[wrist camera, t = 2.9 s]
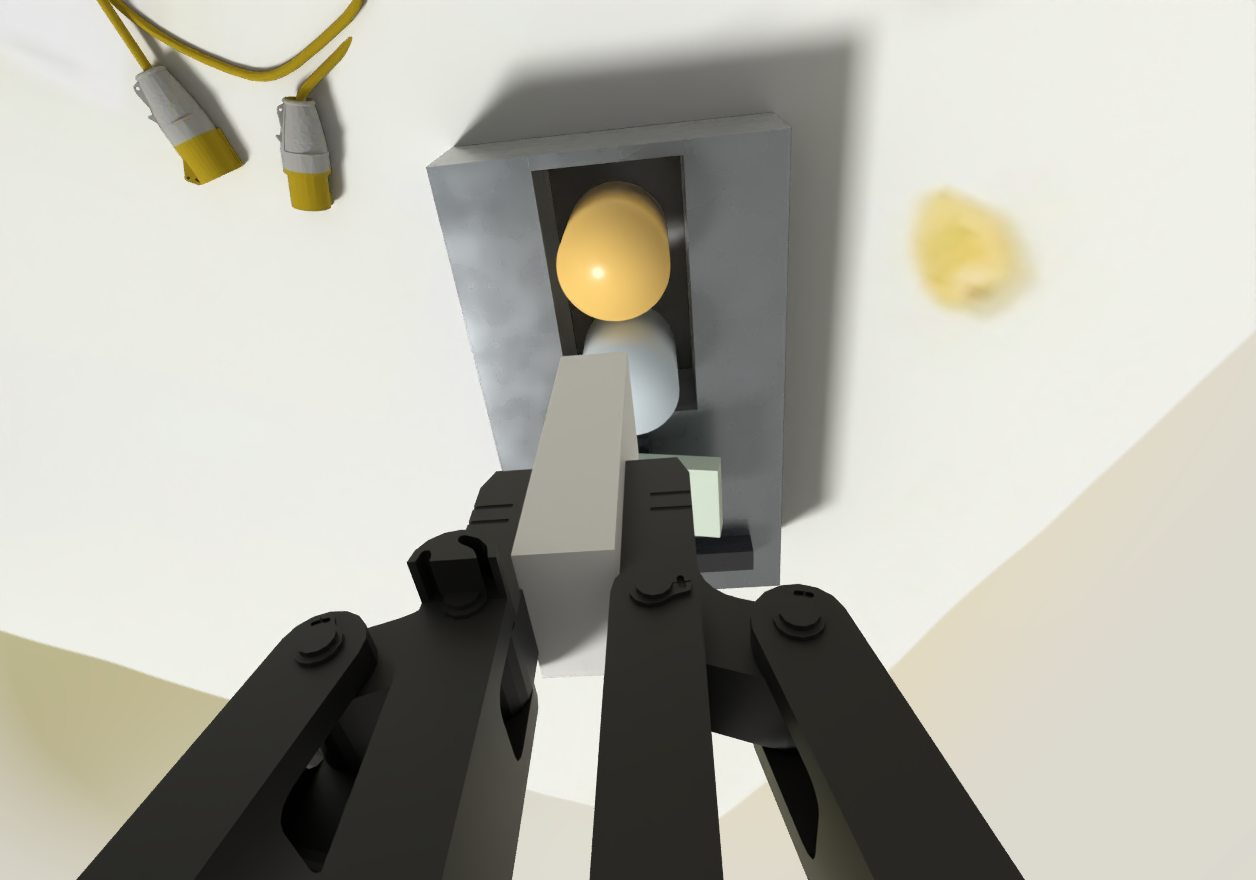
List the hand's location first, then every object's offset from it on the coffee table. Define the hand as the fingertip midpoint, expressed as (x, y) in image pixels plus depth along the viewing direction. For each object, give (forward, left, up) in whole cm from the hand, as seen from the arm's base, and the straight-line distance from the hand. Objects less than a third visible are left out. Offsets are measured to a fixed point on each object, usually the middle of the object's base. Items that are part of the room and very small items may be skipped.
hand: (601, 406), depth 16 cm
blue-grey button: (+5, 0, -14) cm, 15 cm away
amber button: (0, 0, -14) cm, 14 cm away
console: (+7, 0, -16) cm, 18 cm away
